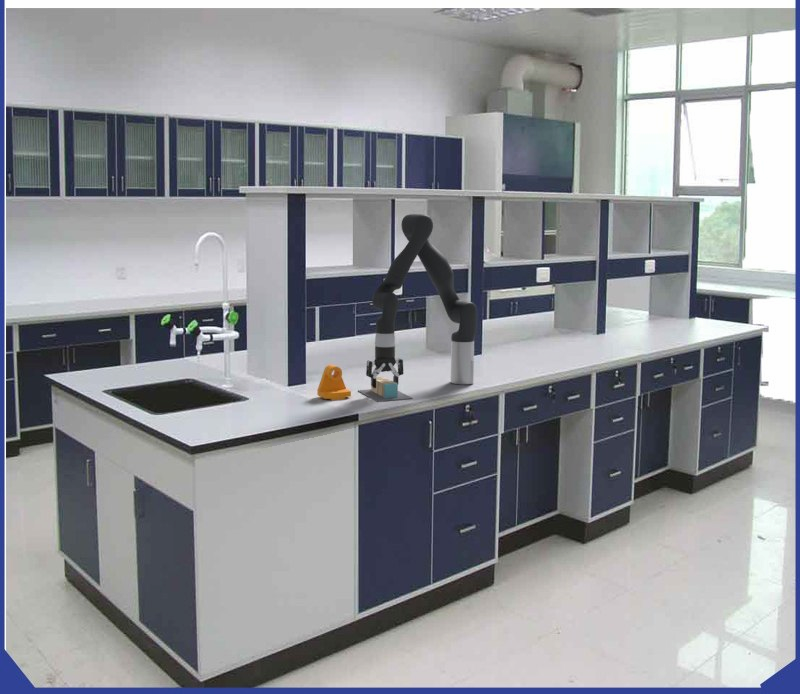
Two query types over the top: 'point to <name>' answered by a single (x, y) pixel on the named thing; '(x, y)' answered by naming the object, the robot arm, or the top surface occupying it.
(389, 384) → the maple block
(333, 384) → the bracket
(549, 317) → the top surface
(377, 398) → the rubber mat
